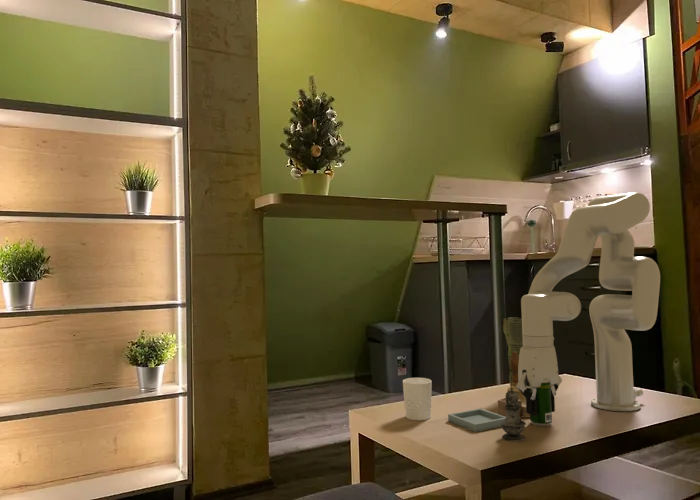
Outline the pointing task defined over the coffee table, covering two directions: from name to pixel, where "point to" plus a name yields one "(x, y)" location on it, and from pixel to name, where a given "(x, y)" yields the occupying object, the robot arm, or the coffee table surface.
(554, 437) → the coffee table surface
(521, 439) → the grey turned upright piece
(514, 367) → the hand bell
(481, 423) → the tray
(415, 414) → the white cup
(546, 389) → the green soda can
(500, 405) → the walnut cube
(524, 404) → the light oak block
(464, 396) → the coffee table surface
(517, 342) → the pouch
